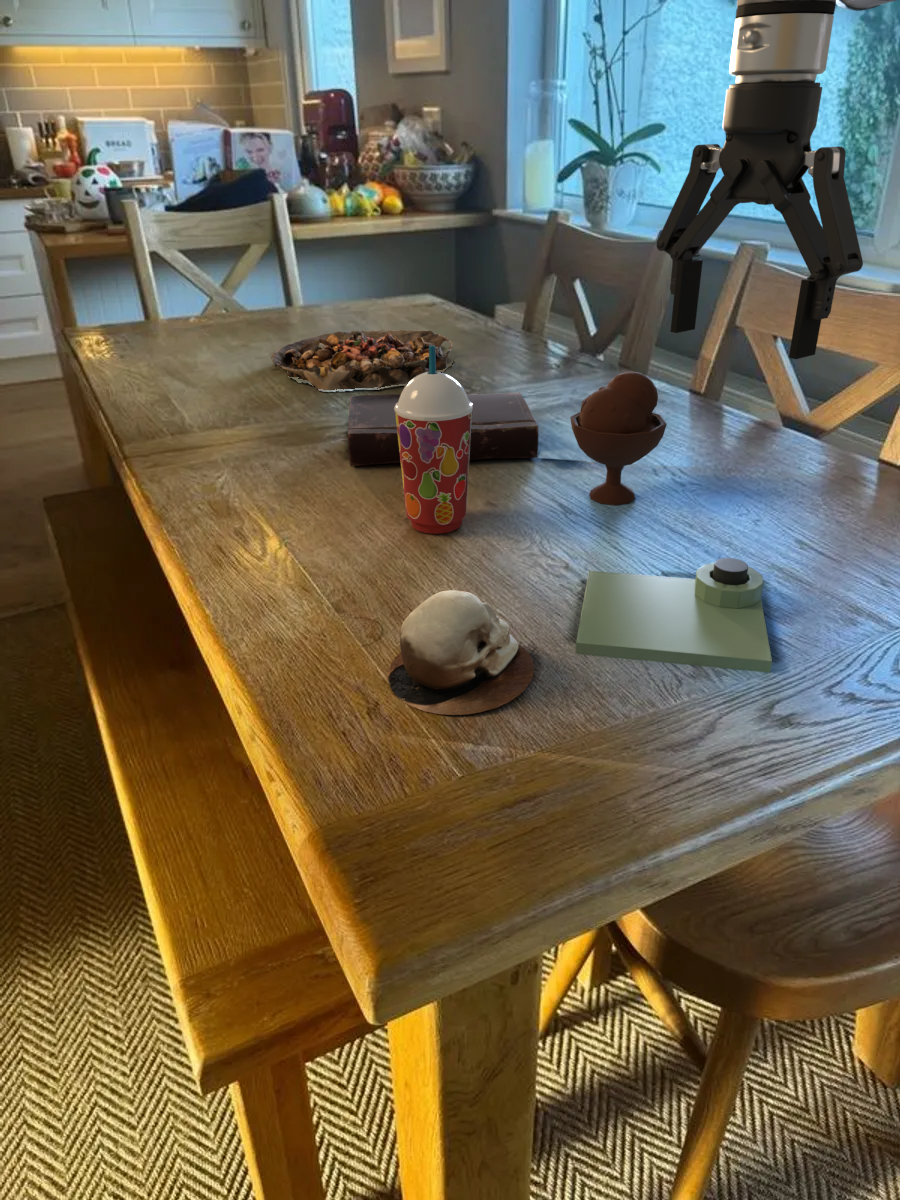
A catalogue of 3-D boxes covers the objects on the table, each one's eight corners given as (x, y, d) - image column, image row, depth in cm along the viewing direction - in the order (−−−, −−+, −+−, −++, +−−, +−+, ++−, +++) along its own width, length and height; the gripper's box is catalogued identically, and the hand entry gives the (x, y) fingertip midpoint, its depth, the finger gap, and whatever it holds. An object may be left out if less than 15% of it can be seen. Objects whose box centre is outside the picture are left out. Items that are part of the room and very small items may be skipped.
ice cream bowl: (610, 474, 116) (618, 356, 109) (677, 499, 108) (691, 374, 101) (548, 493, 110) (552, 370, 103) (614, 521, 102) (624, 390, 95)
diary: (538, 461, 120) (539, 425, 118) (350, 470, 119) (347, 433, 116) (518, 420, 137) (518, 387, 134) (352, 427, 135) (350, 393, 133)
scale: (756, 592, 87) (760, 564, 85) (770, 673, 74) (775, 642, 73) (588, 579, 90) (590, 551, 88) (575, 654, 77) (577, 624, 76)
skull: (477, 608, 82) (524, 561, 74) (521, 714, 80) (575, 677, 71) (358, 640, 77) (393, 593, 68) (400, 754, 74) (442, 720, 66)
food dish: (390, 409, 146) (386, 361, 142) (235, 388, 161) (228, 344, 157) (490, 355, 172) (489, 313, 168) (349, 341, 187) (345, 303, 183)
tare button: (744, 573, 85) (747, 558, 84) (747, 588, 82) (749, 573, 81) (711, 571, 85) (713, 556, 84) (713, 585, 83) (715, 570, 82)
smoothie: (474, 510, 106) (473, 336, 96) (472, 539, 99) (471, 355, 89) (403, 510, 106) (395, 337, 97) (396, 539, 99) (387, 355, 89)
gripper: (631, 84, 81) (614, 326, 91) (891, 73, 63) (834, 376, 73) (688, 84, 85) (665, 316, 95) (948, 74, 67) (886, 361, 77)
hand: (738, 343), depth 84 cm, fingers open, 13 cm apart
